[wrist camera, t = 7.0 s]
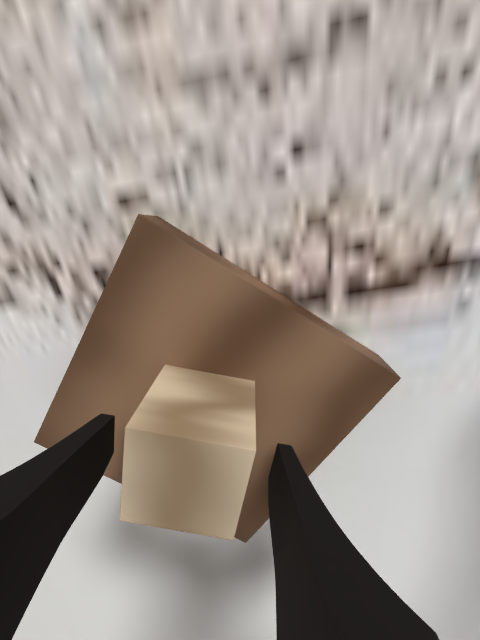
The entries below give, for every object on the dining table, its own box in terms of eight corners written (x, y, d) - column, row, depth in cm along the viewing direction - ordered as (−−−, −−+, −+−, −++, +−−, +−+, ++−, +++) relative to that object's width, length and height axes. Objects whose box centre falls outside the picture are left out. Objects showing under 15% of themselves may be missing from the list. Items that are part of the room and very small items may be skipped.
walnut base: (378, 355, 16) (401, 378, 13) (246, 504, 20) (245, 542, 17) (157, 216, 14) (138, 214, 11) (62, 413, 18) (33, 442, 16)
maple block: (254, 381, 14) (256, 450, 9) (238, 451, 15) (233, 540, 11) (164, 364, 14) (124, 427, 9) (157, 437, 15) (119, 520, 11)
